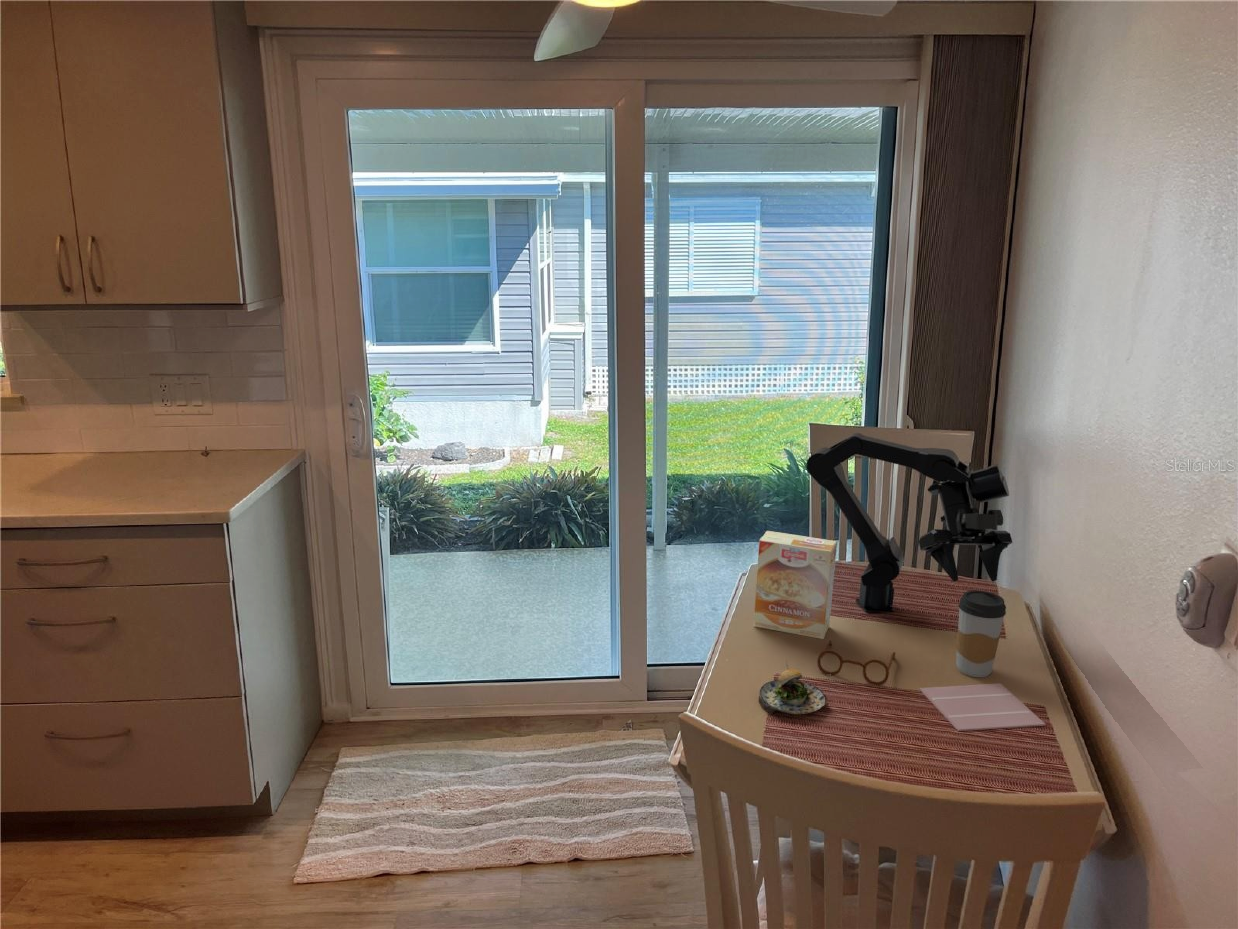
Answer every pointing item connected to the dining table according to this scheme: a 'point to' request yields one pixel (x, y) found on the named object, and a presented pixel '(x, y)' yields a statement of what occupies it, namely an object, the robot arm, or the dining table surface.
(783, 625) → the coffeecake box
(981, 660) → the coffee cup
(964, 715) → the pink napkin
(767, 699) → the burger
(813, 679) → the dining table surface
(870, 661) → the glasses
